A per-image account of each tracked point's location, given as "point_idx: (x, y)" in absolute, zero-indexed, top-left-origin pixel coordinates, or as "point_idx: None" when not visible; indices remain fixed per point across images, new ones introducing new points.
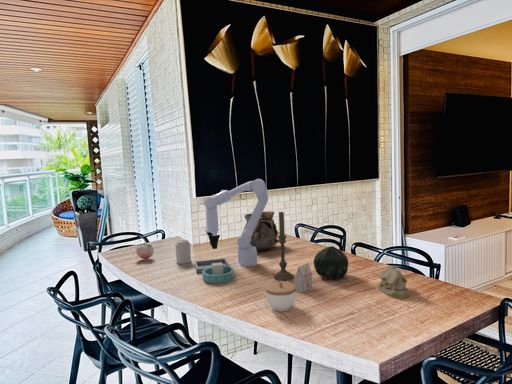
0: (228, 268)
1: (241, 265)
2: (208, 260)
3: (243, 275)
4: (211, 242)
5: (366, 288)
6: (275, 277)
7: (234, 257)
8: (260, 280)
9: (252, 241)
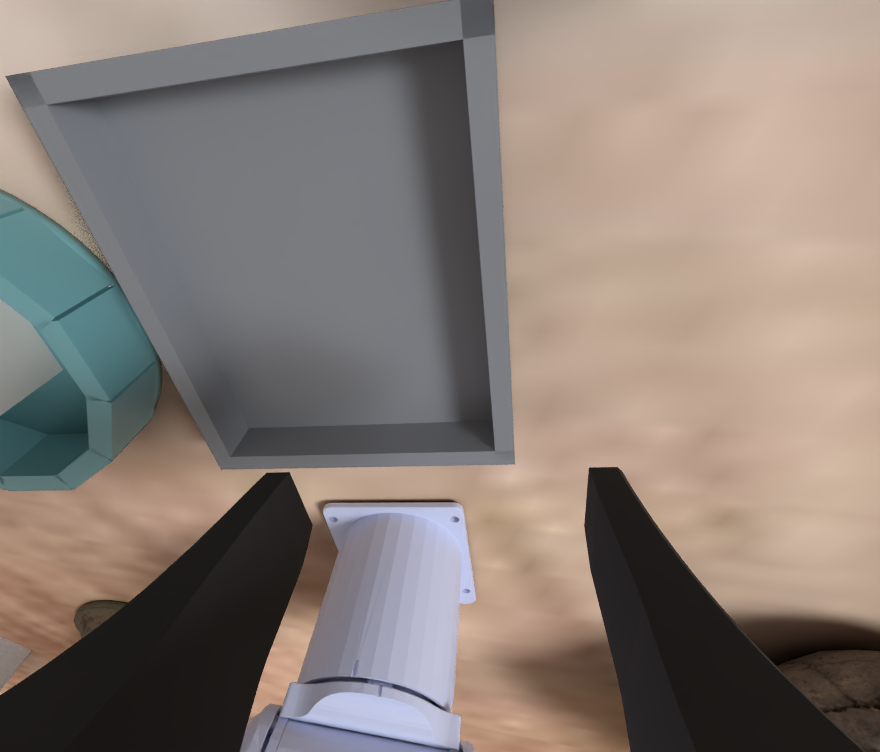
0: (80, 455)
1: (348, 524)
2: (481, 271)
3: (131, 495)
4: (130, 601)
5: None
6: (91, 611)
7: (680, 511)
8: (53, 550)
9: None
